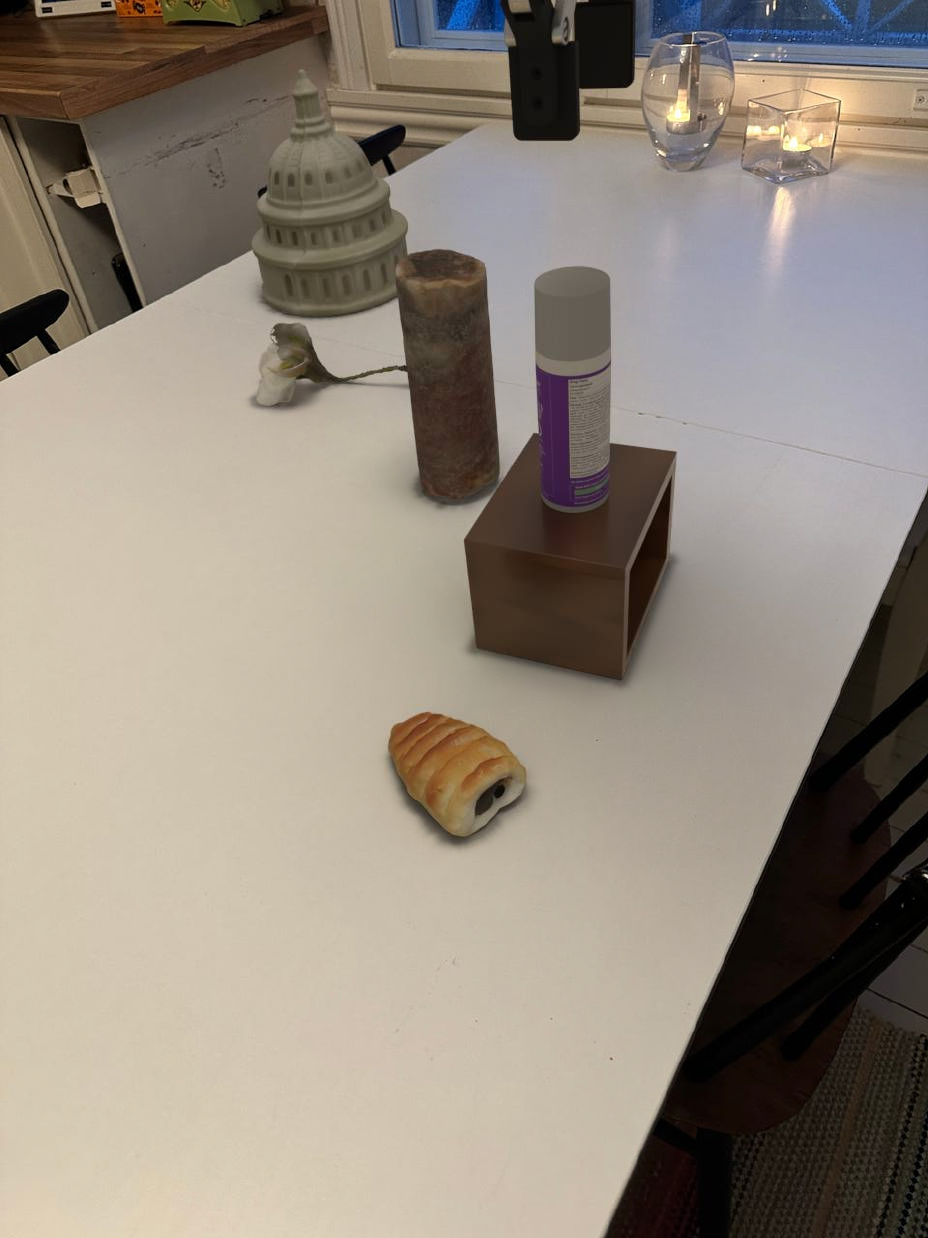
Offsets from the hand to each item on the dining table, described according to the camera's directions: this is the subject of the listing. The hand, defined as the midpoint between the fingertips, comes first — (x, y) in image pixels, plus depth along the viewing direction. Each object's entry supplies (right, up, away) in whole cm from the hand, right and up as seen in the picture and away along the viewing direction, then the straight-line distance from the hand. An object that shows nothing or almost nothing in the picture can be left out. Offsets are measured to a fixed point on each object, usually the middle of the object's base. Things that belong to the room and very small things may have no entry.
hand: (577, 111), depth 48 cm
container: (+2, -18, +17) cm, 24 cm away
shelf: (+3, -25, +23) cm, 34 cm away
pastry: (-6, -37, +11) cm, 39 cm away
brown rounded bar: (-6, -14, +37) cm, 40 cm away
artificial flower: (-18, -2, +52) cm, 55 cm away
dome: (-22, +18, +75) cm, 80 cm away
